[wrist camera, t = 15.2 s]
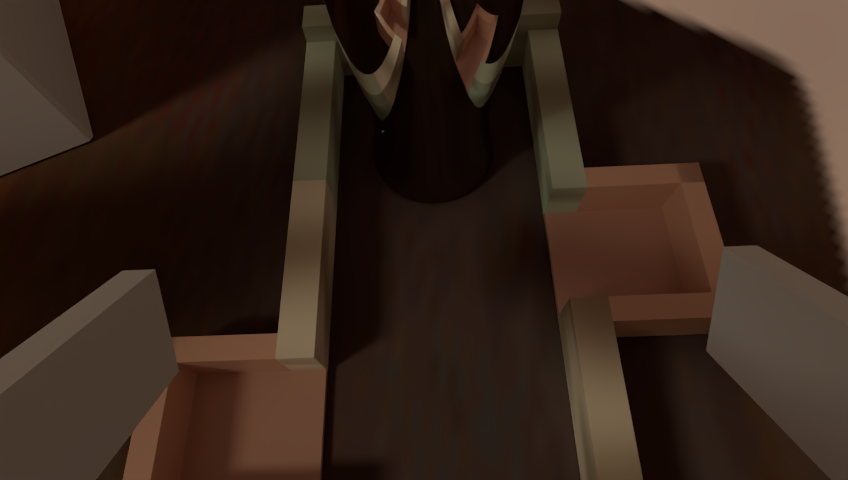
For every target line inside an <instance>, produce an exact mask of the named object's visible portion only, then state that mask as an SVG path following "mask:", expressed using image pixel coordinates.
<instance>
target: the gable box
mask: <svg viewBox="0 0 848 480" xmlns="http://www.w3.org/2000/svg"><path fill="white" fill-rule="evenodd" d="M92 138H93V133H92V130H91V126H90V122H89V118H88V114H87V110H86V106H85V102H84V98H83V94H82V90H81V86H80V82H79V78H78V74H77V70H76V66H75V62H74V58H73V54H72V50H71V46H70V42H69V38H68V34H67V30H66V26H65V22H64V19H63V15H62V11H61V7H60V3H59V0H0V176H1V175H4V174H6V173H9V172H12V171H14V170H17V169H19V168H22V167H24V166H27V165H30V164H32V163H35V162H37V161H40V160H43V159H45V158H48V157H50V156H53V155H55V154H58V153H61V152H63V151H66V150H68V149H71V148H73V147H76V146H79V145H81V144H84V143H86V142H89V141H91V140H92Z"/></svg>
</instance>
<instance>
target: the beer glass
mask: <svg viewBox="0 0 848 480" xmlns="http://www.w3.org/2000/svg"><path fill="white" fill-rule="evenodd" d="M524 1H525V0H324V2H325V6H326V9H327V12H328V16H329V19H330V21H331V24H332V26H333V29H334V31H335V34H336V36H337V39H338V41H339V43H340V46H341V48H342V51H343V53H344V55H345V57H346V59H347V61H348V63H349V65H350V67H351V69H352V72H353V74H354V76H355V78H356V80H357V82H358V84H359V86H360V88H361V90H362V92H363V94H364V96H365V98H366V100H367V102H368V104H369V106H370V109H371V111H372V114H373V118H374V124H375V131H374V144H373V155H374V162H375V166H376V169H377V171H378V173H379V175H380V177H381V178H382V180H383V181H384V183H385V184H386V185H387V186H388V187H389V188H390V189H391V190H393V191H394V192H395V193H397V194H399V195H400V196H402V197H405V198H407V199H410V200H413V201H416V202H422V203H442V202H447V201H451V200H454V199H457V198H460V197H462V196H464V195H466V194H467V193H469V192H470V191H472V190H473V189H474V188H475V187H477V186H478V185H479V184H480V182H481V181H482V180H483V179H484V177H485V176H486V174H487V172H488V170H489V168H490V165H491V161H492V155H493V145H492V138H491V133H490V127H489V109H490V104H491V101H492V98H493V95H494V92H495V89H496V86H497V83H498V81H499V78H500V76H501V73H502V70H503V68H504V65H505V62H506V59H507V57H508V54H509V51H510V48H511V46H512V43H513V40H514V37H515V33H516V30H517V27H518V23H519V20H520V17H521V13H522V10H523V6H524Z"/></svg>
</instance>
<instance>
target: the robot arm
mask: <svg viewBox="0 0 848 480" xmlns="http://www.w3.org/2000/svg"><path fill="white" fill-rule="evenodd" d="M706 351H707V352H708V353H709V354H710V355H711V356H712V357H713V358H714V360H715V361H716V362H717V363H718V364H719V365H720V366H721V367H722V368H723V369H724V370H725V371H726V372H727V373H728V374H729V375H730V376H731V377H732V378H733V379H734V380H735V381H736V382H737V383H738V384H739V385H740V386H741V387H742V388H743V389H744V390H745V391H746V393H747V394H748V395H749V396H750V397H751V398H752V399H753V400H754V401H755V402H756V403H757V404H758V405H759V406H760V407H761V408H762V409H763V410H764V411H765V412H766V413H767V414H768V415H769V416H770V417H771V418H772V419H773V420H774V421H775V422H776V423H777V425H778V426H779V427H780V428H781V429H782V430H783V431H784V432H785V433H786V434H787V435H788V436H789V437H790V438H791V439H792V440H793V441H794V442H795V443H796V444H797V445H798V446H799V447H800V448H801V449H802V450H803V451H804V452H805V453H806V454H807V455H808V456H809V458H810V459H811V460H812V461H813V462H814V463H815V464H816V465H817V466H818V467H819V468H820V469H821V470H822V471H823V472H824V473H825V474H826V475H827V476H828V477H829V478H830V479H831V480H848V296H846V295H844V294H842V293H840V292H839V291H837V290H835V289H833V288H832V287H830V286H828V285H826V284H824V283H823V282H821V281H819V280H817V279H816V278H814V277H812V276H810V275H809V274H807V273H805V272H803V271H801V270H800V269H798V268H796V267H794V266H793V265H791V264H789V263H787V262H785V261H784V260H782V259H780V258H778V257H777V256H775V255H773V254H771V253H769V252H768V251H766V250H764V249H762V248H761V247H759V246H757V245H753V246H728V247H723V252H722V258H721V264H720V270H719V276H718V282H717V288H716V294H715V300H714V306H713V312H712V318H711V324H710V330H709V336H708V342H707V348H706ZM178 372H179V368H178V364H177V360H176V356H175V351H174V347H173V343H172V339H171V334H170V330H169V326H168V322H167V317H166V313H165V309H164V304H163V300H162V296H161V292H160V287H159V283H158V279H157V275H156V270H155V269H151V270H126V271H121V272H120V273H118V274H117V275H116V276H114V277H113V278H111V279H110V280H109V281H107V282H106V283H105V284H103V285H102V286H100V287H99V288H98V289H96V290H95V291H93V292H92V293H91V294H89V295H88V296H87V297H85V298H84V299H82V300H81V301H80V302H78V303H77V304H75V305H74V306H73V307H71V308H70V309H69V310H67V311H66V312H64V313H63V314H62V315H60V316H59V317H57V318H56V319H55V320H53V321H52V322H51V323H49V324H48V325H46V326H45V327H44V328H42V329H41V330H39V331H38V332H37V333H35V334H34V335H33V336H31V337H30V338H28V339H27V340H26V341H24V342H23V343H21V344H20V345H19V346H17V347H16V348H15V349H13V350H12V351H10V352H9V353H8V354H6V355H5V356H3V357H2V358H1V359H0V480H96V479H97V478H98V477H99V475H100V474H101V473H102V471H103V470H104V469H105V467H106V466H107V465H108V463H109V462H110V461H111V460H112V458H113V457H114V456H115V454H116V453H117V452H118V450H119V449H120V448H121V446H122V445H123V444H124V443H125V441H126V440H127V439H128V437H129V436H130V435H131V433H132V432H133V431H134V429H135V428H136V427H137V425H138V424H139V423H140V422H141V420H142V419H143V418H144V416H145V415H146V414H147V412H148V411H149V410H150V408H151V407H152V406H153V405H154V403H155V402H156V401H157V399H158V398H159V397H160V395H161V394H162V393H163V391H164V390H165V389H166V388H167V386H168V385H169V384H170V382H171V381H172V380H173V378H174V377H175V376H176V374H177V373H178Z"/></svg>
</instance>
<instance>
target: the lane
mask: <svg viewBox="0 0 848 480" xmlns="http://www.w3.org/2000/svg"><path fill="white" fill-rule="evenodd" d="M560 17H561V8H560V3H559V0H525V1H524V6H523V10H522V13H521V17H520V20H519V23H518V27H517V30H516V33H515V37H514V40H513V43H512V46H511V48H510V51H509V54H508V57H507V59H506V62H505V65H504V67H516V66H522V69H523V76H524V83H525V90H526V97H527V104H528V111H529V118H530V125H531V132H532V139H533V146H534V153H535V160H536V167H537V174H538V181H539V188H540V195H541V202H542V209H543V216H544V213H553V212H576V211H577V209H578V207H579V205H580V203H581V200H582V198H583V196H584V194H585V192H586V189H587V181H586V176H585V171H584V165H583V160H582V155H581V150H580V144H579V139H578V134H577V129H576V123H575V118H574V113H573V107H572V102H571V97H570V92H569V86H568V81H567V76H566V70H565V65H564V60H563V55H562V49H561V44H560V39H559V34H558V25H559V21H560ZM302 29H303V32H304V35H305V38H306V41H307V47H306V56H305V66H304V76H303V86H302V96H301V106H300V116H299V126H298V136H297V146H296V156H295V166H294V176H293V186H292V196H291V206H290V215H289V225H288V235H287V245H286V255H285V265H284V275H283V285H282V295H281V305H280V315H279V325H278V335H277V345H276V355H275V359H276V360H277V361H279V362H280V363H281V364H283V365H284V366H286V367H287V368H288V369H290V370H291V371H292V370H321V369H327V370H328V360H329V342H330V324H331V306H332V288H333V270H334V252H335V234H336V216H337V198H338V180H339V162H340V144H341V126H342V109H343V91H344V75H354V74H353V72H352V69H351V67H350V65H349V63H348V61H347V59H346V57H345V55H344V53H343V51H342V48H341V46H340V43H339V41H338V39H337V36H336V34H335V31H334V29H333V26H332V24H331V21H330V19H329V16H328V12H327V9H326V6H325V5H314V6H304V13H303V22H302ZM558 322H559V329H560V336H561V343H562V350H563V357H564V364H565V371H566V378H567V385H568V392H569V399H570V406H571V413H572V420H573V427H574V434H575V441H576V448H577V455H578V462H579V470H580V477H581V480H643V477H642V471H641V466H640V461H639V456H638V450H637V445H636V440H635V434H634V429H633V424H632V419H631V413H630V408H629V403H628V398H627V392H626V387H625V382H624V376H623V371H622V366H621V361H620V355H619V350H618V345H617V340H616V334H615V329H614V324H613V318H612V313H611V308H610V303H609V297H608V296H602V297H576V298H569V300H568V301H567V303H566V304H565V306H564V308H563V309H562V311H561V312H560V314H559V316H558Z"/></svg>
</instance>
